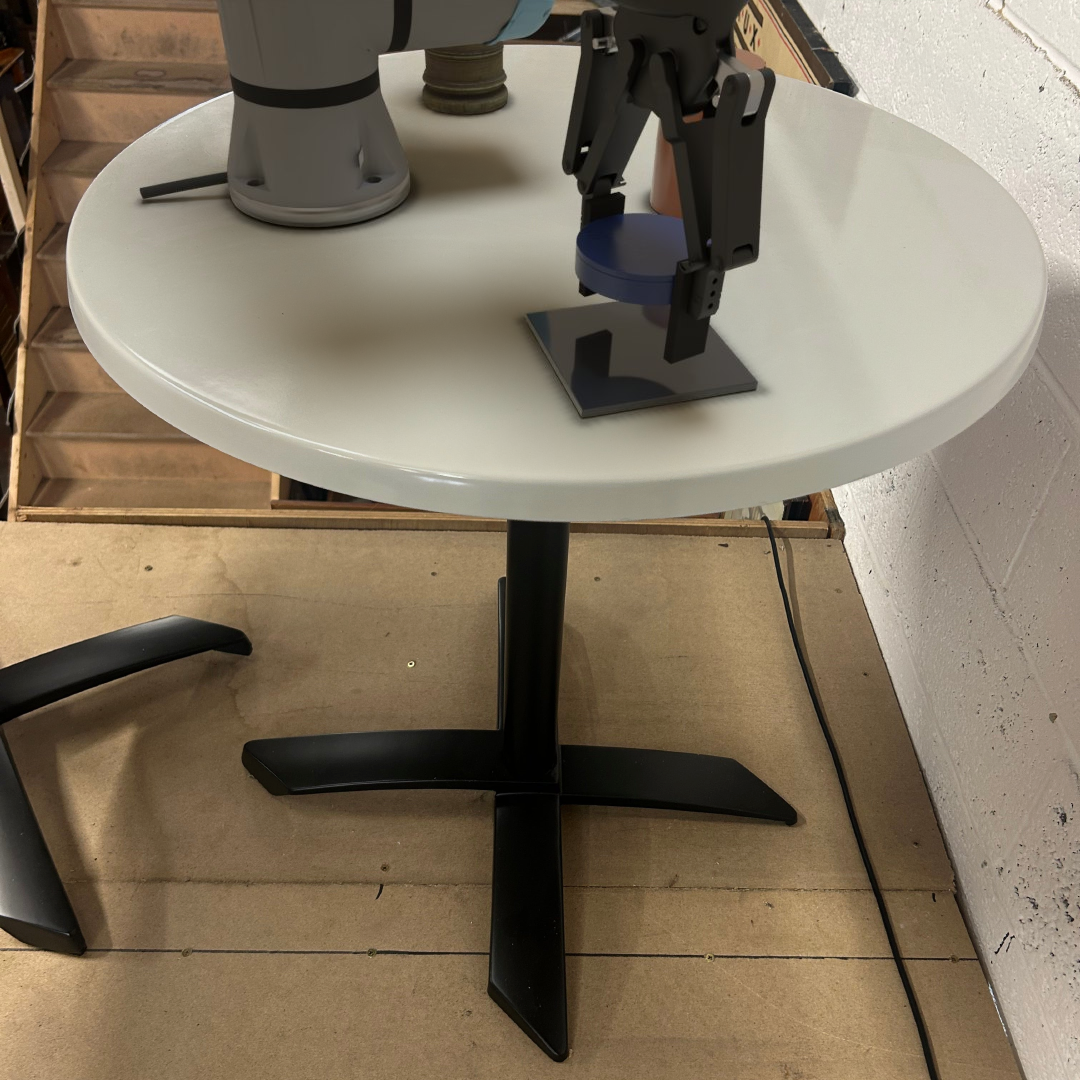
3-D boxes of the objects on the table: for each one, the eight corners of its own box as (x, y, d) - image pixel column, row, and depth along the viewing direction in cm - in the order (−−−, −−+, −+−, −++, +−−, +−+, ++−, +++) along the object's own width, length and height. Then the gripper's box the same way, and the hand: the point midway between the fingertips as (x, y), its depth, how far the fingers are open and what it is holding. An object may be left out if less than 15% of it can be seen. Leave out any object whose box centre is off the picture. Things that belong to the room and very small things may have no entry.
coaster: (581, 418, 56) (582, 410, 56) (525, 320, 64) (525, 313, 64) (756, 389, 59) (758, 381, 59) (681, 299, 67) (682, 291, 67)
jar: (661, 226, 76) (679, 76, 68) (641, 186, 82) (655, 44, 74) (753, 223, 77) (782, 75, 69) (727, 184, 83) (751, 43, 75)
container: (420, 114, 93) (407, -99, 81) (425, 85, 100) (414, -116, 87) (508, 116, 93) (509, -96, 81) (507, 87, 100) (508, -114, 88)
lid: (741, 268, 58) (746, 239, 57) (667, 321, 53) (671, 291, 52) (625, 228, 62) (628, 201, 61) (546, 274, 57) (547, 245, 56)
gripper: (911, -50, 40) (795, 386, 55) (619, -130, 52) (592, 242, 68) (783, -32, 37) (699, 423, 52) (507, -122, 49) (506, 266, 65)
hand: (638, 321), depth 60 cm, fingers closed on lid, 9 cm apart
